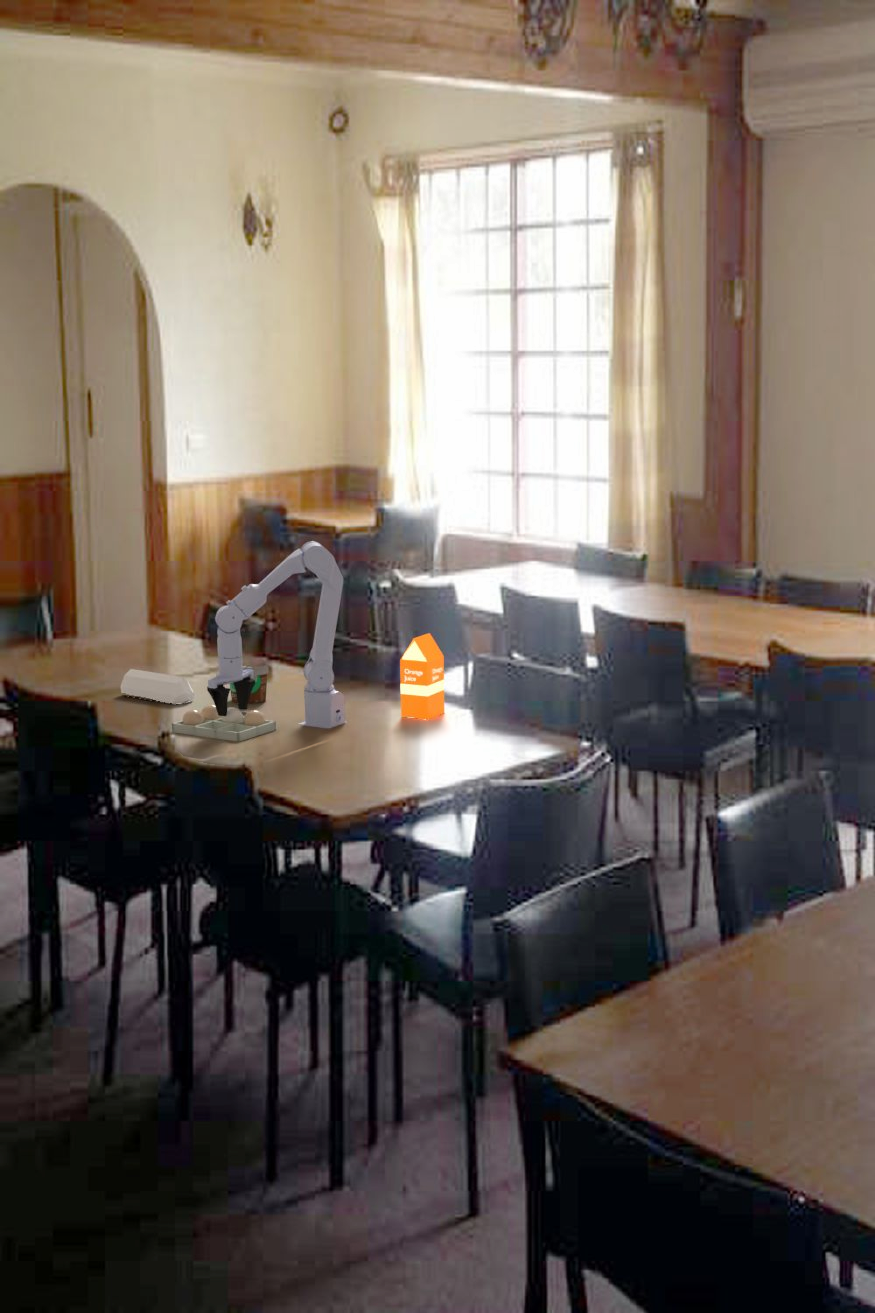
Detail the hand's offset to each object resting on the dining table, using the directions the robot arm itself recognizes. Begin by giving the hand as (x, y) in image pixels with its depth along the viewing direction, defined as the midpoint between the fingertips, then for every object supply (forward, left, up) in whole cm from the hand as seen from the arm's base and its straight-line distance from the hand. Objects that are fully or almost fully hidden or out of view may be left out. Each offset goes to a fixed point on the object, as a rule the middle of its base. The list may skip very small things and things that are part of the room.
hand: (232, 712), depth 393 cm
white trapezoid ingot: (+41, -18, -5) cm, 45 cm away
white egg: (0, 0, -4) cm, 4 cm away
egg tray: (0, +3, -4) cm, 5 cm away
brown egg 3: (-6, 0, -4) cm, 8 cm away
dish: (+5, -10, -4) cm, 12 cm away
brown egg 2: (+7, 0, -4) cm, 8 cm away
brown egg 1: (+7, +7, -4) cm, 10 cm away
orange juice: (-31, -36, -5) cm, 47 cm away
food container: (+17, -25, -5) cm, 30 cm away
